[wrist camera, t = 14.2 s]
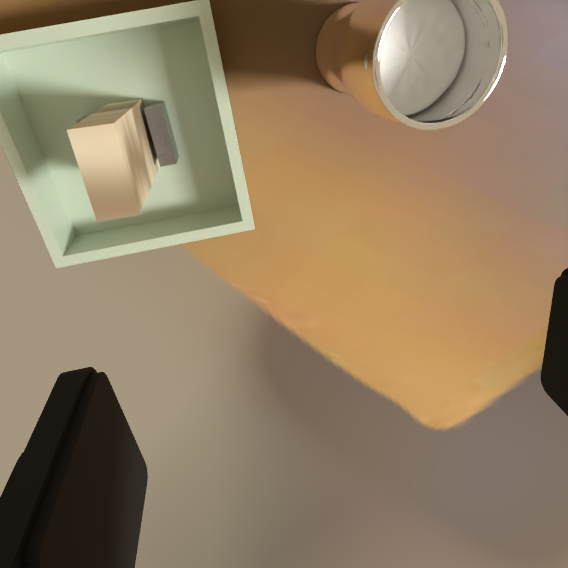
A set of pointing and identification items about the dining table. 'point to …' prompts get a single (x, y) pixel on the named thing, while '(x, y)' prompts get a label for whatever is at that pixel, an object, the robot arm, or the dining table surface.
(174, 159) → the wick clip
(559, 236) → the dining table surface
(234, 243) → the dining table surface
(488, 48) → the metal tumbler
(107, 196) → the upright wooden plank
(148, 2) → the dining table surface
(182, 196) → the pale green prong tray
